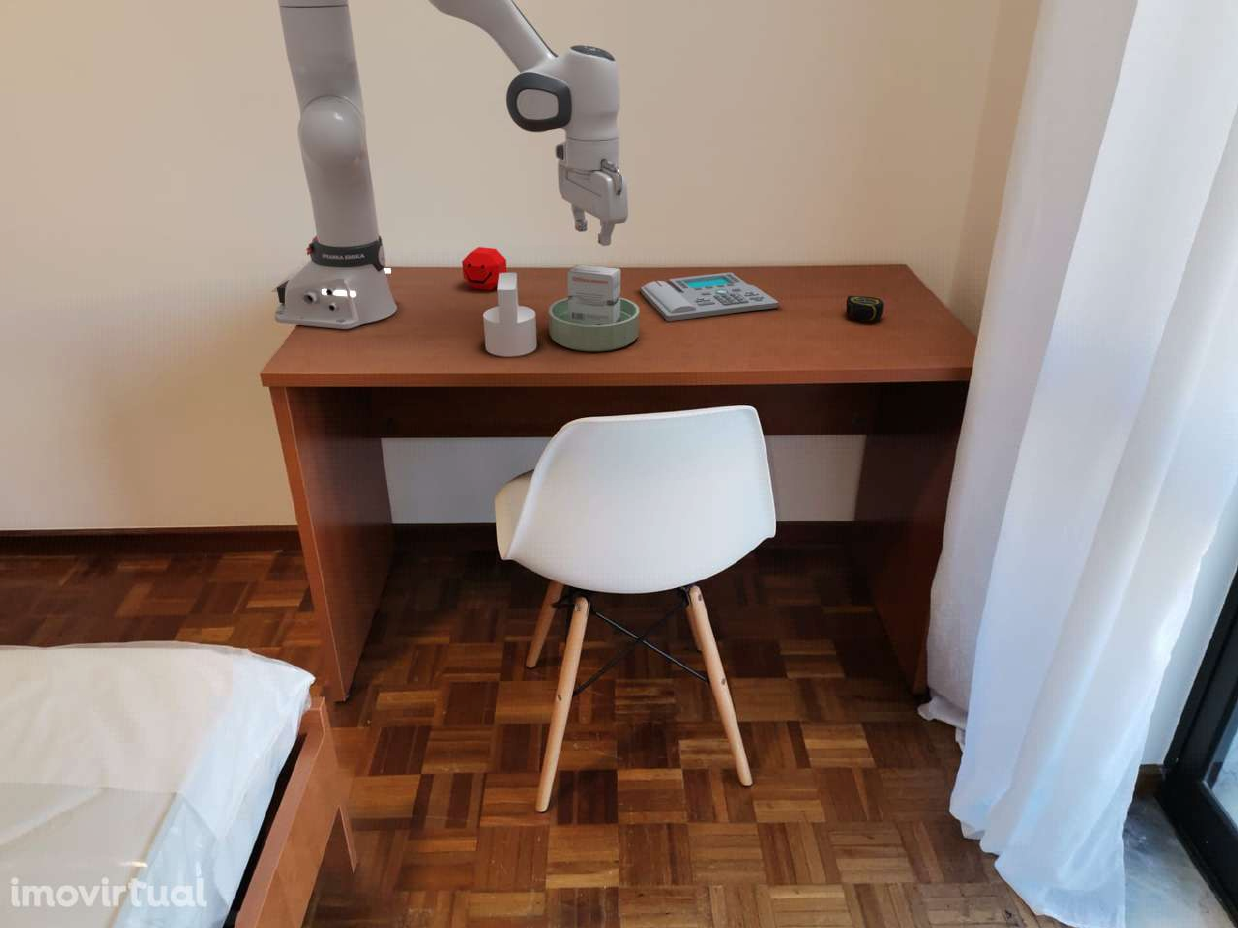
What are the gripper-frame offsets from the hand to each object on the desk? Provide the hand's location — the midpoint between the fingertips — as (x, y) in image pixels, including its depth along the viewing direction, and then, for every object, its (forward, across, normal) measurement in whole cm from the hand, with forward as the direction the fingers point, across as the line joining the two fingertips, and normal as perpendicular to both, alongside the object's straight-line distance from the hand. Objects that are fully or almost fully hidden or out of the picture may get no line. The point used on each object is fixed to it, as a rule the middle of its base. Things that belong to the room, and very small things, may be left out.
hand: (592, 237), depth 156 cm
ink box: (+18, 0, 0) cm, 18 cm away
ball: (+18, +34, +9) cm, 39 cm away
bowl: (+18, 0, 0) cm, 18 cm away
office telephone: (+18, +8, -28) cm, 35 cm away
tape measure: (+18, -14, -51) cm, 56 cm away
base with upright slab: (+18, +1, +15) cm, 24 cm away
